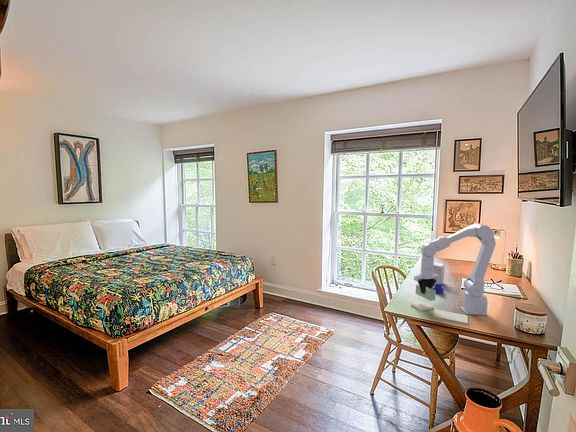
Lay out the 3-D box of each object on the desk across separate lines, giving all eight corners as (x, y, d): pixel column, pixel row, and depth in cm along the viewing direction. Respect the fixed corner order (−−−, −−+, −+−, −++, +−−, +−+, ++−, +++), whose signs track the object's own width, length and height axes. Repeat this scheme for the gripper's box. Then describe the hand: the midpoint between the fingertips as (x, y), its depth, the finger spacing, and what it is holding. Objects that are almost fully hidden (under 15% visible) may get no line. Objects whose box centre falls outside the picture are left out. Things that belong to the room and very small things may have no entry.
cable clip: (443, 293, 171) (444, 283, 170) (437, 294, 169) (438, 284, 168) (426, 286, 182) (427, 277, 181) (421, 287, 180) (421, 278, 179)
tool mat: (467, 316, 140) (467, 315, 140) (467, 324, 132) (468, 323, 132) (434, 309, 147) (434, 309, 147) (433, 316, 139) (433, 315, 139)
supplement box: (431, 280, 193) (432, 261, 191) (443, 283, 188) (445, 264, 187) (428, 283, 187) (429, 264, 186) (440, 286, 182) (442, 266, 181)
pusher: (435, 300, 146) (435, 290, 146) (430, 300, 145) (431, 291, 145) (420, 293, 156) (420, 284, 155) (415, 293, 155) (416, 284, 154)
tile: (422, 301, 155) (410, 303, 152) (433, 306, 148) (421, 308, 146) (422, 304, 155) (410, 306, 152) (433, 309, 149) (421, 311, 146)
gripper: (431, 263, 155) (430, 288, 156) (410, 266, 150) (408, 291, 151) (443, 267, 148) (441, 293, 150) (420, 270, 143) (419, 296, 145)
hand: (425, 292), depth 150 cm, fingers closed on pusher, 3 cm apart
